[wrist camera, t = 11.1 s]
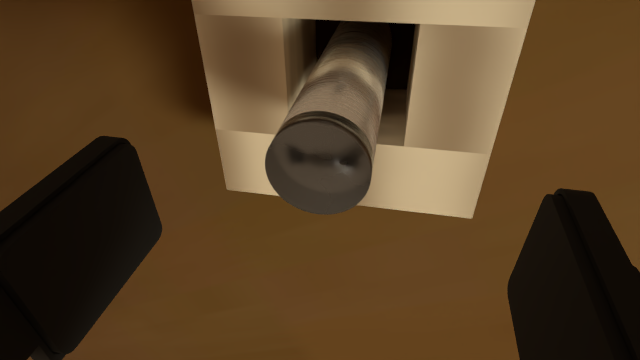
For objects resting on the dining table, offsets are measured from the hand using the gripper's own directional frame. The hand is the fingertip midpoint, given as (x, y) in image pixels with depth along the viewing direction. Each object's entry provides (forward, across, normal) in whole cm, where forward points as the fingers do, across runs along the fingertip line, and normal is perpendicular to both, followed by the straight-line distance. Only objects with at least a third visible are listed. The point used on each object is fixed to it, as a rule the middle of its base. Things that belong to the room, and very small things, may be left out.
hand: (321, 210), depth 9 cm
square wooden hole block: (+14, +1, 0) cm, 14 cm away
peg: (+14, +1, 0) cm, 14 cm away
